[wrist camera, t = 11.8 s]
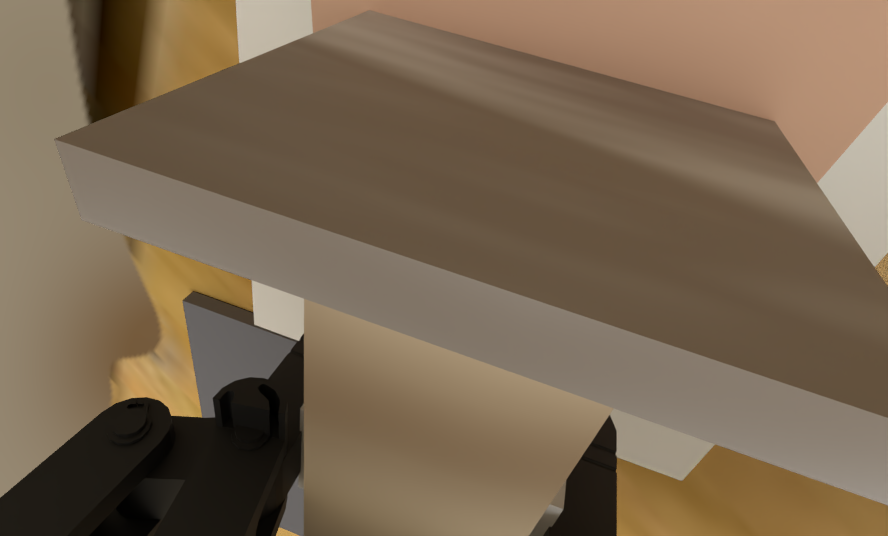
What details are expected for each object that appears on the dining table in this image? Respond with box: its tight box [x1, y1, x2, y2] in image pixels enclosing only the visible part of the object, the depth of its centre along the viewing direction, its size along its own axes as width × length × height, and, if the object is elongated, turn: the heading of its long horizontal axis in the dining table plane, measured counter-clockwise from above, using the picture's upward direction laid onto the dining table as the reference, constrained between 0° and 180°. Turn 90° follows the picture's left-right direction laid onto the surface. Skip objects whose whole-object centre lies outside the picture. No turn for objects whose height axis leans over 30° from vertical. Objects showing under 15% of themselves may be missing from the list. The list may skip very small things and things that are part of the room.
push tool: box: [54, 10, 888, 536], centre depth 13 cm, size 16×9×8 cm, turn 169°
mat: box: [183, 291, 304, 536], centre depth 30 cm, size 20×13×1 cm, turn 169°
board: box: [236, 0, 888, 481], centre depth 16 cm, size 20×20×3 cm
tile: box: [311, 0, 888, 183], centre depth 13 cm, size 12×12×1 cm
